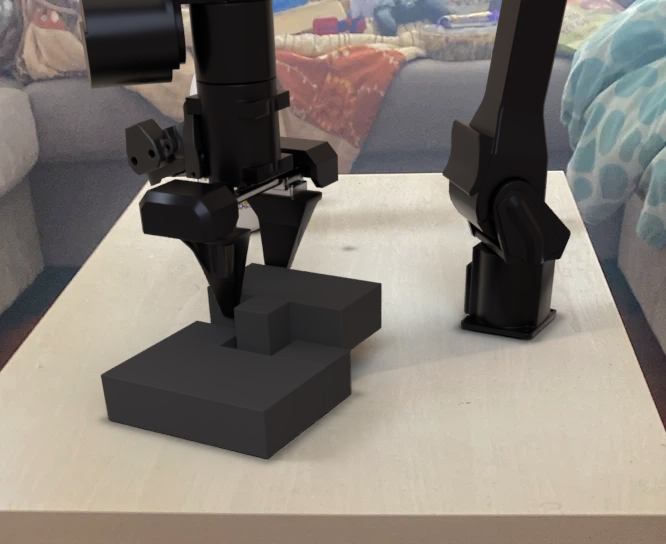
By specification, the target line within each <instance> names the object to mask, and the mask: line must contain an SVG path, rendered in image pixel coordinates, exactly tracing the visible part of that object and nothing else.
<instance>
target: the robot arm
mask: <svg viewBox="0 0 666 544" xmlns="http://www.w3.org/2000/svg"><path fill="white" fill-rule="evenodd" d="M78 3H79V11H80V18H81V21H78V24H79V31H80V38H81V43H82V44H81V45H82V48H83V56H84V61H85V67H86V72H87V77H88V82H89V86H90V89H103V88H116V87H131V86H143V85H158V84H169V83H172V82H173V76H174V75H173V74H174V73H173V71H176V70H179V71H180V70H181V65H186V63H187V44H186V35H185V26H184V25H185V24H184V18H183V10H182V5H188V13H189V26H190V33H191V45H192V54H193V55H192V56H193V65H194V74H195V75H196V87H197V94H195V95H191V96H190V95H188V96H185V98H184V100H185V101H184V102H183V103H182V104H183V105H182V110H183V121H180V122H179V123H176V124H174V125H171V126H168V127H165V128H163V129H162V128H161V126H159V123H157V122H156V120H155V119H154V118H148V119H146V120H143V121H140V122H137V123H134V124H132V125H130V126H128V127H125V128H124V136H125V137H124V138H125V152H126V157H127V162H128V166H129V167H130V168H131V169H132V171H133V173H135V174H136V175H138V176H143V175H146V177H147V179H148V183H149V184H150V187H152V188H149V189H147V190H146V191H145V193H144V194H143V196H142V197H141V199H140V200H139V202H138V209H139V216H140V222H141V229H142V233H143V234H144V235H149V236H153V237H161V238H168V239H169V238H170V239H174V240H180V241H181V242H182V243H183V244H184V245H185V246H186V247H187V248H189V250H190V251H191V252H192V253H193V255H194V257H195V259H196V260H197V262H198V264H199V266H200V268H201V270H202V272H203V275H204V277H205V279H206V281H207V283H208V286H210V288H211V290H212V292H213V295H214V297H215V299H216V301H217V304H218V306H219V308H220V310H221V313H222V315H223V316H224V317H228V318H235V316H234V308H235V307H236V306H238V305H239V303H240V299H241V292H242V286H243V279H244V273H245V266H247V260H248V259H247V258H248V253H249V246H250V240H251V233H252V232H251V229H249V228H242V227H237V222H238V219H239V208H238V204H239V203H242V202H244V201H247V202H248V204H249V205H250V207H251V208H252V209H253V211H254V212H255V214H256V215H257V217H258V221H259V234H260V241H261V250H262V256H263V262H264V263H263V265H270V266H276V267H282V268H289V269H292V266H293V263H294V261H295V257H296V255H297V252H298V249H299V247H300V244H301V242H302V239H303V237H304V235H305V232H306V230H307V228H308V226H309V223H310V221H311V218H312V216H313V213H314V212H315V209H316V207H317V204H318V203H319V201H322V200H323V192H322V191H320V190H313V189H312V190H311V189H308V181H307V180H306V179H310V181H311V182H312V184H313V185H314V186H315V188H316V189H317V188H319V189H324V188H326V187H328V186H330V185H332V184H334V183H336V182H338V181H339V155H338V153H337V152H336V150H335V149H334V148H333V146H332V145H331V144H330V143H329V141H328V140H319V139H309V138H301V137H300V138H299V137H291V136H281V128H280V127H281V126H280V111H281V110H284V109H287V108H290V107H291V100H290V99H291V97H290V96H291V95H290V89H278V75H277V73H278V72H277V56H276V55H277V54H276V38H275V19H274V18H275V17H274V1H273V0H78ZM567 4H568V0H501V4H500V9H499V15H498V19H497V20H498V21H497V26H496V31H495V36H494V42H493V46H492V48H493V52H492V58H491V57H490V63H489V69H488V73H487V74H488V75H487V80H486V84H485V91H484V94H483V97H482V100H481V102H480V104H479V105H478V108H477V109H476V111H475V113H474V115H473V117H472V119H471V120H470V122H469V123H468V122H465V121H462V120H459V119H454V120H453V121H452V126H451V132H450V133H451V134H450V136H451V137H450V138H451V139H450V152H449V156H448V160H447V163H446V165H445V167H444V169H443V171H442V173H441V175H442V176H443V177H444V178H445V179H447V180H448V195H449V200H450V201H451V203H452V205H453V207H454V208H455V210H456V211H457V213H459V214H460V215H461V216H462V217H464V219H466V222H467V225H468V227H469V231H470V235H471V236H473V237H474V238H477V239H478V240H479V241H480V242H478V243H477V244H475V245H473V246H472V253H471V261H470V262H469V263H467V264H466V266H465V282H464V298H463V299H464V301H463V312H464V314H465V315H466V316H465V317H464V318H462V319H461V320H460V325H459V326H460V328H462V329H466V330H471V331H472V330H473V331H478V332H483V333H491V334H495V335H502V336H507V337H512V338H519V339H525V340H530V339H532V338H534V337H535V336H536V335H537V334H538V333H539V332H540V331H542V330H543V328H545V327H546V326H547V325H548V324H549V323H550V322H551V321H553V319H555V318H556V317H557V311H558V310H557V309H556V308H551V307H552V306H551V305H552V297H553V287H554V277H555V268H556V260H557V261H558V260H560V259H562V257H563V254H564V253H565V249H566V247H567V245H568V243H569V241H570V238H571V234H572V233H571V230H570V228H568V226H567V225H566V224H565V223H564V222H563V220H561V219H560V217H559V216H558V214H556V213H555V211H553V209H552V208H551V207H550V206H549V204H547V202H546V197H547V196H546V195H547V183H548V173H549V172H548V171H549V157H550V156H549V150H548V149H549V148H548V140H547V138H548V137H547V131H546V129H547V128H546V120H545V107H546V101H547V96H548V92H549V91H548V90H549V87H550V81H551V78H552V72H553V68H554V63H555V59H556V55H557V50H558V46H559V40H560V37H561V32H562V28H563V27H562V26H563V23H564V19H565V18H564V17H565V12H566V8H567ZM183 174H185V177H186V178H187V179H193V180H187V179H179V178H176V177H178V176H181V175H183ZM168 177H171V178H174V179H172V180H169V181H167V182H165V183H162V180H164V179H166V178H168ZM201 178H208V179H209V183H204V182H197V179H201ZM194 180H196V181H194ZM161 183H162V184H161ZM159 184H160V185H159ZM156 185H157V186H156ZM234 188H237V189H236V190H234Z"/></svg>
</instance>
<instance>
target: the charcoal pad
mask: <svg viewBox="0 0 666 544" xmlns="http://www.w3.org/2000/svg"><path fill="white" fill-rule="evenodd" d="M351 366H352V364H351V350H350V349H345V348H339V347H334V346H329V345H324V344H318V343H313V342H308V341H302V340H295V341H294V342H292V343H291V344H289V345H288V346H286V347H284V348H283V349H281V350H280V351H278V352H277V353H275V354H274V355H272V356H269V355H264V354H259V353H254V352H249V351H244V350H239V349H237V339H236V328H234V327H229V326H223V325H218V324H213V323H211V322H207V321H201V320H194V321H192V322H191V323H189V324H188V325H186V326H185V327H182V328H181V329H179V330H177V331H175V332H174V333H172V334H170V335H169V336H167V337H165V338H163V339H161V340H160V341H158V342H156V343H154V344H152V345H151V346H149V347H147V348H145V349H144V350H141V351H140V352H138V353H136V354H135V355H133V356H131V357H130V358H127V359H126V360H124V361H122V362H120V363H119V364H117V365H115V366H114V367H112V368H110V369H108V370H106V371H105V372H103V373H101V374H100V379H101V386H102V389H103V396H104V403H105V407H106V414H107V418H108V421H110V422H111V421H112V422H115V423H119V424H123V425H127V426H131V427H136V428H138V429H144V430H147V431H152V432H156V433H160V434H163V435H167V436H173V437H176V438H180V439H184V440H189V441H193V442H197V443H201V444H205V445H209V446H212V447H216V448H221V449H226V450H230V451H233V452H236V453H241V454H246V455H250V456H253V457H257V458H262V459H266V460H267V459H269V458H271V457H272V456H273V455H275V454H276V453H277V452H278V451H280V450H281V449H282V448H283V447H285V446H286V445H287V444H289V443H290V442H291V441H293V440H294V439H295V438H296V437H298V436H299V435H300V434H302V433H303V432H304V431H306V430H307V429H308V428H309V427H311V426H312V425H313V424H314V423H316V422H317V421H319V420H320V419H321V418H322V417H323V416H325V415H326V414H327V413H329V412H330V411H332V410H333V409H334V408H335V407H337V406H338V405H339V404H341V402H343V401H345V400H346V399H348V398H349V396H351V395H352V373H351V371H352V370H351V368H352V367H351Z"/></svg>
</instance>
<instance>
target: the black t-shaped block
mask: <svg viewBox="0 0 666 544" xmlns="http://www.w3.org/2000/svg"><path fill="white" fill-rule="evenodd" d="M382 286H383V283H381V282H378V281H377V282H376V281H370V280H365V279H364V280H363V279H358V278H351V277H346V276H339V275H332V274H326V273H319V272H313V271H307V270H302V269H301V270H300V269H294V268H290V269H289V268H282V267H276V266H270V265H265V264H264V263H256V262H250V263H249V264H246V266H245V273H244V279H243V286H242V292H241V299H240V303H239V305H238V306H236V307H235V308H234V316H235V318H228V317H224V316H223V315H222V313H221V310H220V308H219V306H218V304H217V301H216V299H215V297H214V295H213V292H212V290H211V288H210V286H209V285H208V286H207V287H206V291H207V301H208V309H209V310H208V311H209V319H210V320H209V321H210V323H213V324H218V325H223V326H229V327H234V328H236V339H237V349H239V350H244V351H249V352H254V353H259V354H264V355H269V356H272V355H274V354H275V353H277V352H278V351H280V350H281V349H283V348H284V347H286V346H288V345H289V344H291V343H292V342H294V341H295V340H302V341H308V342H313V343H318V344H324V345H329V346H334V347H339V348H345V349H350V351H352V350H354V349H355V348H356V347H357V346H359V345H361V344H362V343H363V342H364V341H365V340H367V339H369V337H370V338H371V336H373V335H374V334H375V333H377V332H379V330H381V329H382V325H383V323H382V322H383V321H382V319H383V318H382V317H383V316H382V313H383V311H382V307H383V306H382V305H383V303H382V302H383V301H382V300H383V296H382V293H383V291H382V290H383V289H382V288H383V287H382Z"/></svg>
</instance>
